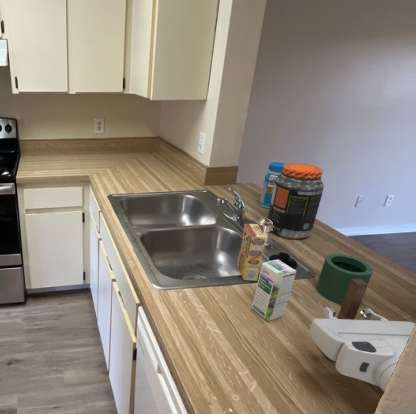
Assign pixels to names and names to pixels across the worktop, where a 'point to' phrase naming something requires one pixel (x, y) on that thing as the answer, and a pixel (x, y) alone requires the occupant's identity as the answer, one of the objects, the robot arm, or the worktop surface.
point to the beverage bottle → (270, 183)
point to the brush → (352, 300)
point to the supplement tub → (296, 200)
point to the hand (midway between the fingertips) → (345, 310)
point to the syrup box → (273, 289)
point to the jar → (341, 275)
